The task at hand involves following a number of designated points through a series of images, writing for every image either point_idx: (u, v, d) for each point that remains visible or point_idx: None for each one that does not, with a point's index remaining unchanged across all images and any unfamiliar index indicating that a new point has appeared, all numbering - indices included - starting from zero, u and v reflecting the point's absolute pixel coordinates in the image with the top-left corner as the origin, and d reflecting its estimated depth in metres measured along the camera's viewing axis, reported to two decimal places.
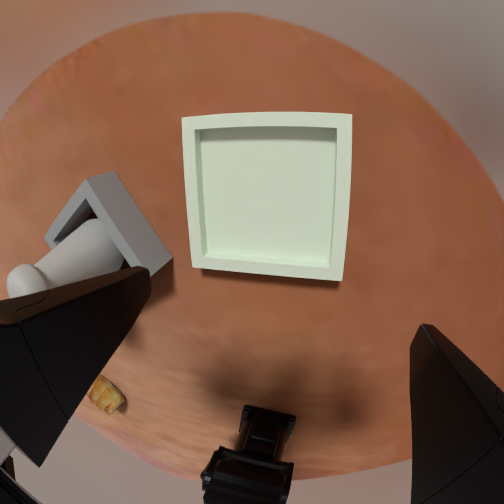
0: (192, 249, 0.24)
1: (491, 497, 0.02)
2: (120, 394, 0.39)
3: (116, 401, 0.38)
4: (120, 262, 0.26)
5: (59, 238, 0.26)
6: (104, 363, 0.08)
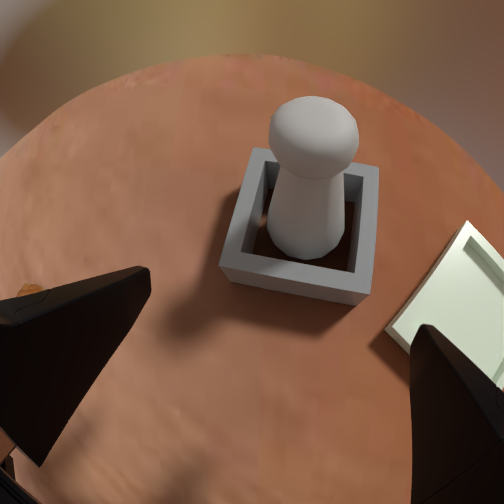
0: (406, 311, 0.19)
1: (491, 498, 0.02)
2: None
3: None
4: (321, 255, 0.21)
5: (265, 168, 0.23)
6: (104, 363, 0.08)
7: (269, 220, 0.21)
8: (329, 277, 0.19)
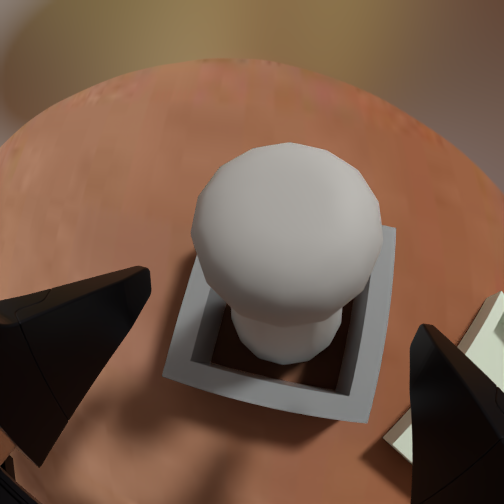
0: None
1: (491, 497, 0.02)
2: None
3: None
4: (306, 360, 0.14)
5: None
6: (104, 362, 0.08)
7: (232, 314, 0.14)
8: (312, 403, 0.12)
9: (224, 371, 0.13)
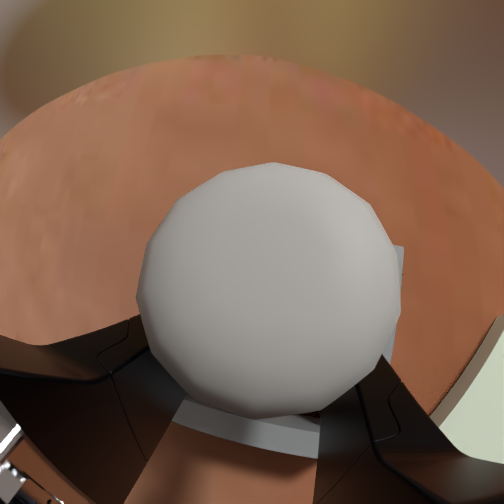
0: None
1: None
2: None
3: None
4: None
5: None
6: (185, 395, 0.07)
7: None
8: (305, 443, 0.10)
9: (208, 408, 0.11)
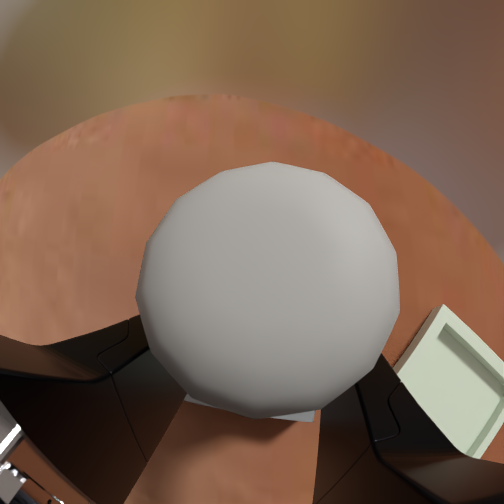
0: None
1: None
2: None
3: None
4: None
5: None
6: (185, 395, 0.07)
7: None
8: None
9: None
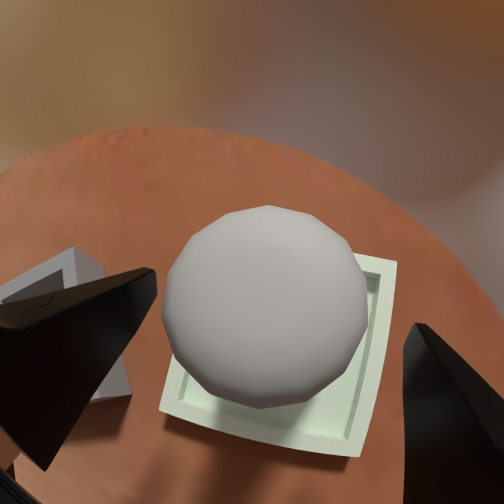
0: (167, 387, 0.16)
1: (482, 500, 0.02)
2: None
3: None
4: None
5: None
6: (110, 365, 0.08)
7: None
8: None
9: None
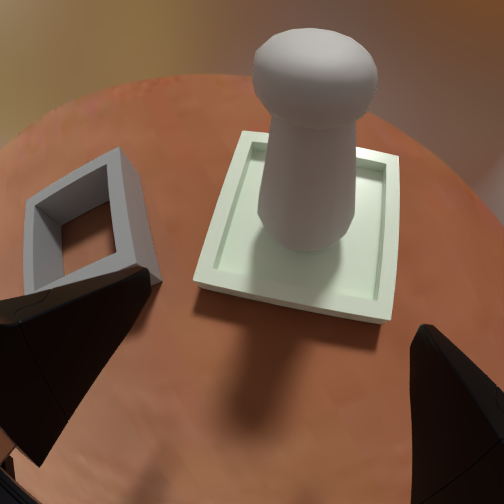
0: (202, 256, 0.18)
1: (491, 498, 0.02)
2: None
3: None
4: (327, 245, 0.16)
5: (40, 211, 0.20)
6: (104, 362, 0.08)
7: (260, 202, 0.16)
8: (97, 269, 0.17)
9: (50, 284, 0.17)
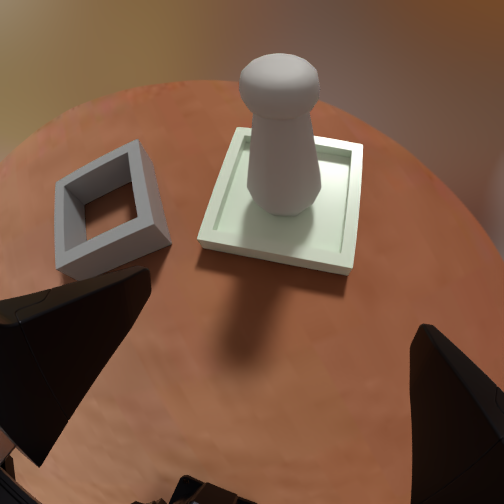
0: (204, 221, 0.24)
1: (491, 498, 0.02)
2: None
3: None
4: (299, 209, 0.22)
5: (68, 191, 0.26)
6: (104, 363, 0.08)
7: (248, 177, 0.22)
8: (121, 231, 0.22)
9: (79, 245, 0.22)
